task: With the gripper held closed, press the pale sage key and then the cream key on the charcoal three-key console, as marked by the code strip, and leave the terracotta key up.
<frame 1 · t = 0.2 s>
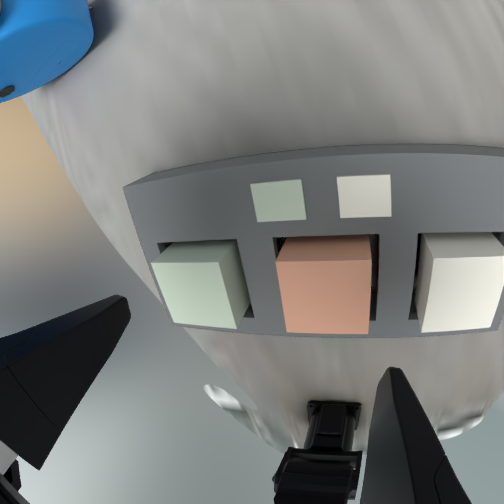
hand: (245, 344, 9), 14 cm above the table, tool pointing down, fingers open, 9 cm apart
alarm clock: (76, 41, 19), on the table
console: (331, 235, 21), on the table
sage key: (203, 282, 22), point 4 cm above the table, slide at 0.0 cm
cream key: (459, 280, 15), point 4 cm above the table, slide at 0.0 cm
terracotta key: (328, 284, 18), point 4 cm above the table, slide at 0.0 cm
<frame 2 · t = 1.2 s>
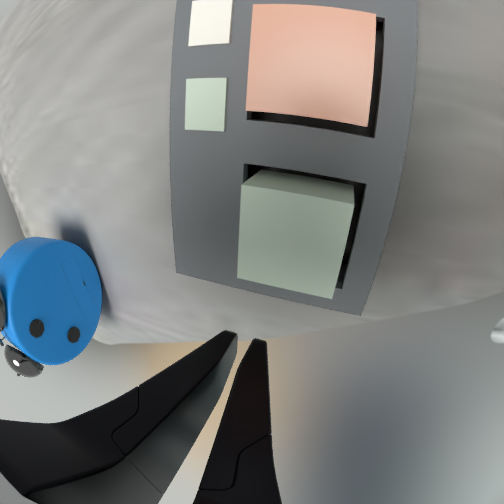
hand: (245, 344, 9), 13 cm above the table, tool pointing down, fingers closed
alarm clock: (86, 268, 31), on the table
console: (297, 71, 16), on the table
sage key: (296, 231, 16), point 4 cm above the table, slide at 0.0 cm
terracotta key: (314, 64, 12), point 4 cm above the table, slide at 0.0 cm
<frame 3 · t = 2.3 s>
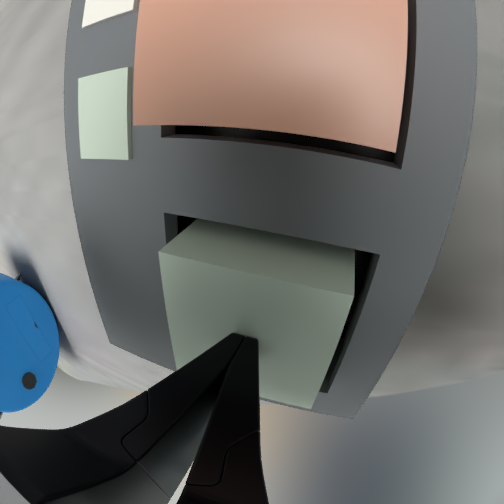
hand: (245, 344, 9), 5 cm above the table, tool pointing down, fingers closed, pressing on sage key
alarm clock: (42, 303, 25), on the table
console: (264, 48, 9), on the table
sage key: (259, 310, 10), point 4 cm above the table, slide at 0.7 cm, touching gripper
terracotta key: (278, 20, 5), point 4 cm above the table, slide at 0.0 cm
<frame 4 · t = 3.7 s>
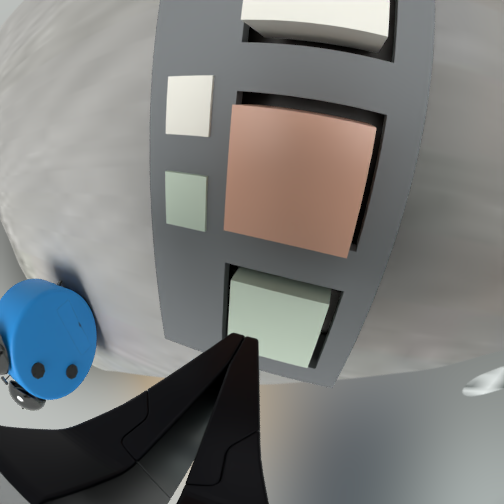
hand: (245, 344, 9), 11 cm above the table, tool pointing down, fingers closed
alarm clock: (80, 305, 32), on the table
console: (285, 152, 16), on the table
sage key: (279, 310, 18), point 3 cm above the table, slide at 1.4 cm
terracotta key: (300, 172, 12), point 4 cm above the table, slide at 0.0 cm
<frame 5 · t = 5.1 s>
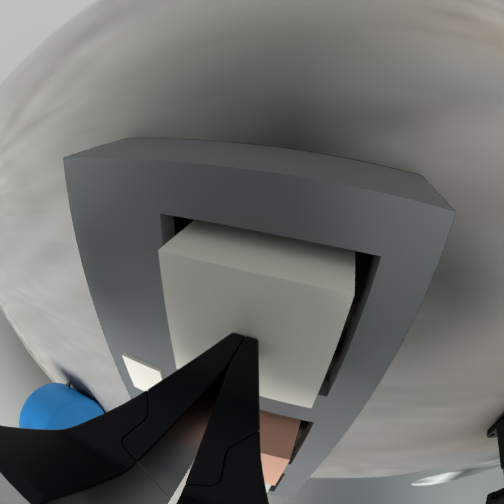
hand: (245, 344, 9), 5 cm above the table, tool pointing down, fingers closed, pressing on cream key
alarm clock: (90, 399, 34), on the table
console: (241, 375, 18), on the table
sage key: (244, 462, 20), point 3 cm above the table, slide at 1.4 cm
cream key: (260, 309, 10), point 3 cm above the table, slide at 0.9 cm, touching gripper
terracotta key: (242, 436, 14), point 4 cm above the table, slide at 0.0 cm
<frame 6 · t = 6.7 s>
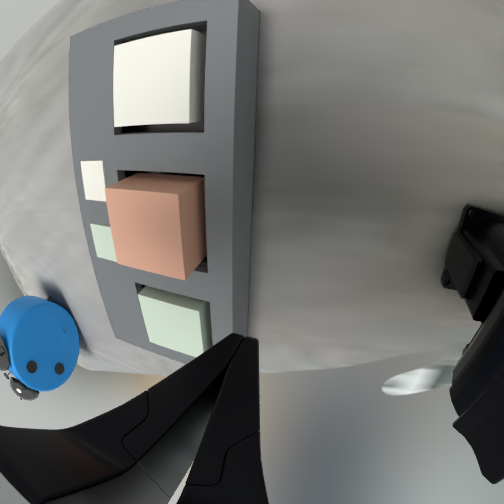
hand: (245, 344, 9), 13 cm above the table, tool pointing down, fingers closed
alarm clock: (66, 316, 38), on the table
console: (171, 198, 22), on the table
sage key: (181, 315, 24), point 3 cm above the table, slide at 1.4 cm
cream key: (164, 80, 15), point 3 cm above the table, slide at 1.4 cm
terracotta key: (158, 222, 18), point 4 cm above the table, slide at 0.0 cm
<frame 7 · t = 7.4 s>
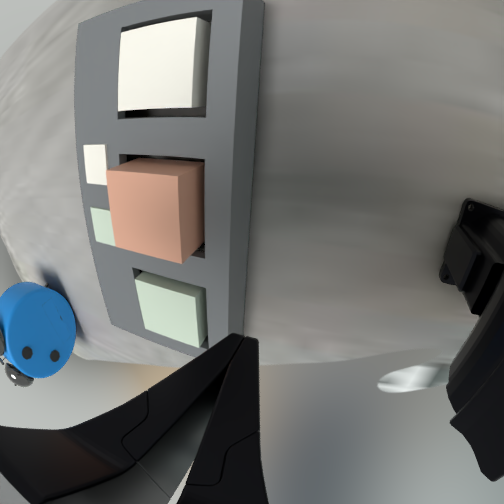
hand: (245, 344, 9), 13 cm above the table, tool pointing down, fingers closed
alarm clock: (63, 303, 38), on the table
console: (172, 185, 22), on the table
sage key: (177, 302, 24), point 3 cm above the table, slide at 1.4 cm
cream key: (169, 66, 15), point 3 cm above the table, slide at 1.4 cm
terracotta key: (157, 206, 18), point 4 cm above the table, slide at 0.0 cm
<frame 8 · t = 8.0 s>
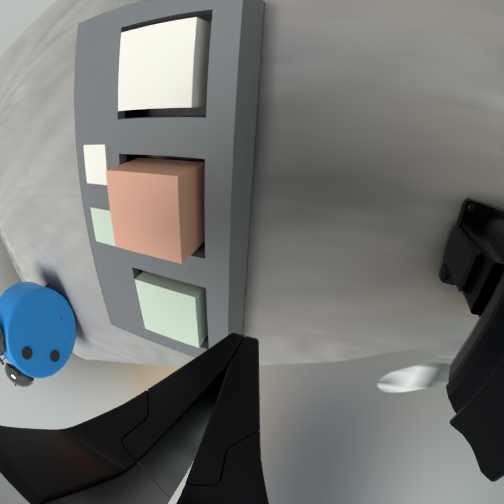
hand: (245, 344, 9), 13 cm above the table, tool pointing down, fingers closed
alarm clock: (63, 303, 38), on the table
console: (172, 185, 22), on the table
sage key: (177, 302, 24), point 3 cm above the table, slide at 1.4 cm
cream key: (169, 66, 15), point 3 cm above the table, slide at 1.4 cm
terracotta key: (157, 206, 18), point 4 cm above the table, slide at 0.0 cm
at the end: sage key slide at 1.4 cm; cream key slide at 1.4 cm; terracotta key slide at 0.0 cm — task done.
